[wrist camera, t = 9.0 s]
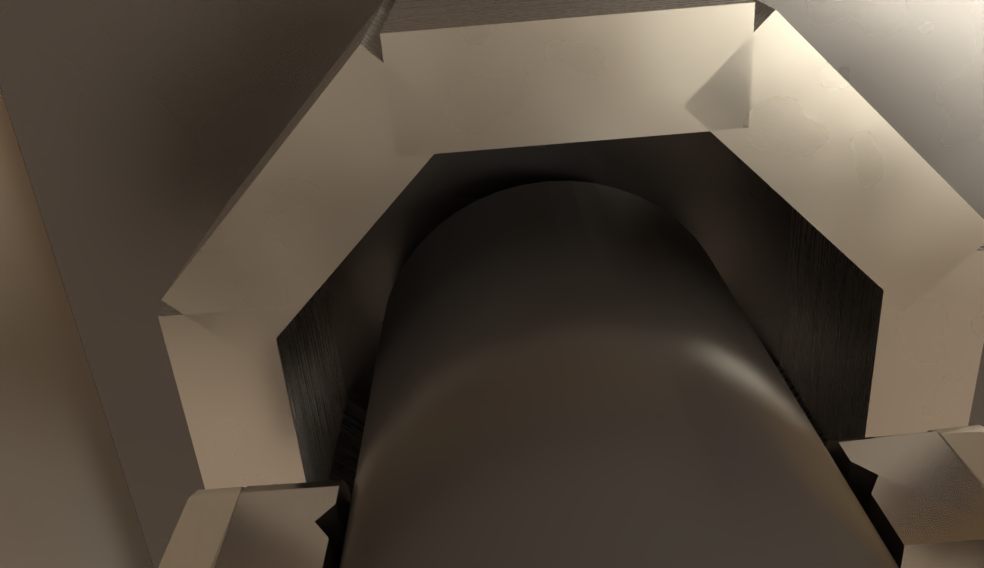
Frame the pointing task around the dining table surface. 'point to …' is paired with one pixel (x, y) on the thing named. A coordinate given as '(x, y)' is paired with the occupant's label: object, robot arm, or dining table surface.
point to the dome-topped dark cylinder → (586, 405)
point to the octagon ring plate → (479, 173)
